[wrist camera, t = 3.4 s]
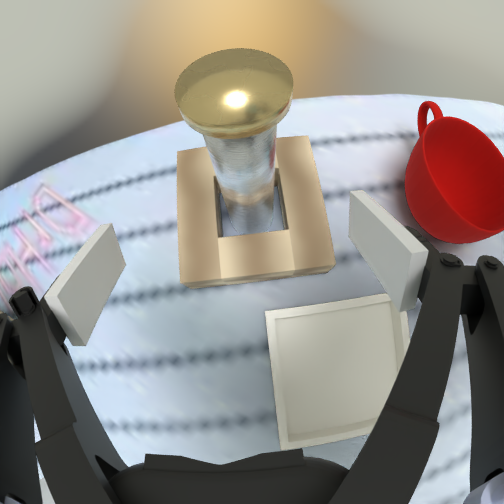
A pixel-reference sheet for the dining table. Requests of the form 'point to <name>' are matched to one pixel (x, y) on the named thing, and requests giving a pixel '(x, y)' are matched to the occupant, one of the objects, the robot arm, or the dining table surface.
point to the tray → (334, 367)
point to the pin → (239, 126)
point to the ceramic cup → (455, 180)
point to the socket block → (258, 244)
